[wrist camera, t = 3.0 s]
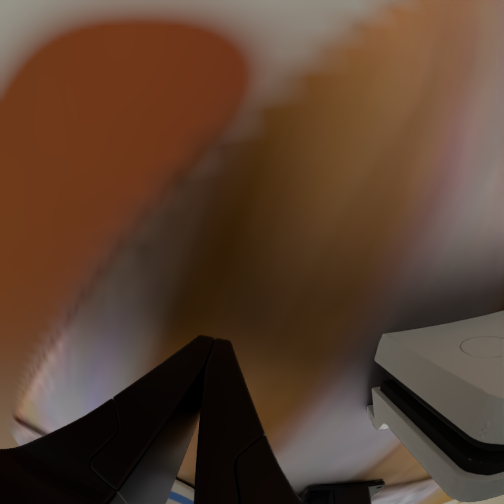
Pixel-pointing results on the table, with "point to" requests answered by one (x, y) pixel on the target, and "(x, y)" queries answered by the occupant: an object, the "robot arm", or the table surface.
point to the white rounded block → (447, 402)
